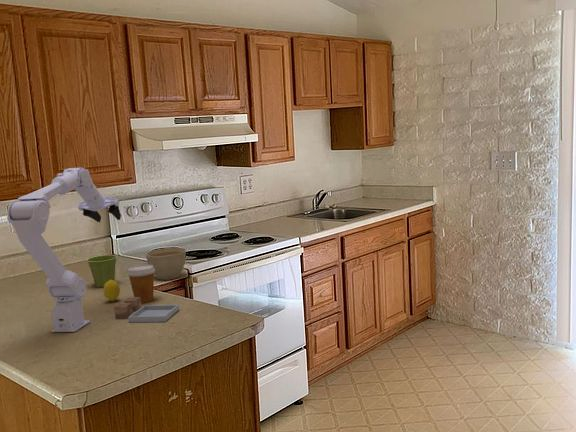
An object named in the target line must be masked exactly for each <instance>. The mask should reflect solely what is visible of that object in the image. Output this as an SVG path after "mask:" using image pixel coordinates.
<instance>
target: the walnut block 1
mask: <svg viewBox="0 0 576 432" xmlns="http://www.w3.org/2000/svg"><path fill="white" fill-rule="evenodd" d="M113 308H114V316H115V320H116V319H117V320H124V319H126V320H129V318H128V317H129V316H130V315H132V314H133V313H134V312H132V304H131V303H124V302H121V303H118V304H117V305H115V306H114V307H113Z"/></svg>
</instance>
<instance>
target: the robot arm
mask: <svg viewBox="0 0 576 432" xmlns="http://www.w3.org/2000/svg"><path fill="white" fill-rule="evenodd" d="M73 190H74V191H75V192H76V193H77V194H78V195H79V196H80V197H81V198H82V200H83V201H82V202H78V204H77V207H76V208H77V209H78V210H79V211H82V216H84V217H88V218H91V219H93V220H94V221H95V222H97V223H101V220H102V216H101V214H100V213H99V211H101V210H103V209H105V208H108V210H107V212H108V214H111V215H112V216H113V217H114V218H115V219H116V220H117V221H120V220H121V218H122V214H121V212H120V208H119V205H120V199H119V198H117V197H116V198H114V197H109V196H104V194H103V193H101V191H99V188H97V186H96V185H95V184H94V182H93V178H92V177H91V173H90V171H89V169H88V168H87V169H86V168H84V167H69V168H65V169H64V170H63V172H60V173H57V174H56V176H55V177H54V178H53V179H52V180H51V183H50V184H49V185H46V186H44V187H42V188H40V189H37V190H35V191H32V192H30V193H27V194H25V195H22V196H20V197H19V198H17V200H14V201H12V202H10V204H9V206H8V208H7V217H6V220H7V221H8V222H9V224H10V225H11V226H12V227H13V228H14V230H15V233H16V235H17V238H18V240H19V242H20V244H21V245H22V247H24V249H25V250H26V251H27V252H28V254H29V255H30V257H31V258H32V259H33V260H34V262H36V264H37V265H38V266H39V268H40V270H41V271H42V272H43V273H44V274H45V276H46V277H47V279H46V283H45V286H46V287H47V288H48V292H49V295H50V296H51V297H52V298H53V300H54V301H55V302H56V303H55V305H54V306H52V307H53V308H52V309H51V319H52V327H53V329H51V333H66V332H67V333H70V332H71V333H72V332H77V331H78V330H80V329H81V328H82V327H84V326H86V325H87V324H89V323H90V322H91V320H89V319H88V320H85V316H84V310H83V309H84V307H83V302H82V301H83V300H82V298H83V297H84V295H85V293H86V291H87V284H86V281H85V279H84V278H83V277H80V276H79V275H78V274H77V273H76V272H74V271H71V270H70V269H67V268H66V267H65V265H64V264H63V262H62V261H61V260H60V259H59V257H58V256H57V254H56V253H55V251H53V249H52V248H51V247H50V245H49V244H48V243H47V241H46V239H45V238H44V237H43V235H42V234H44V233H45V231H46V228H47V225H48V221H49V216H50V209H51V204H50V201H49V200H51V199H53V198H55V197H56V196H57V195H60V196H64V195H66V194H68V193H69V192H71V191H73Z"/></svg>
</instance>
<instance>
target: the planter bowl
mask: <svg viewBox="0 0 576 432" xmlns="http://www.w3.org/2000/svg"><path fill="white" fill-rule="evenodd" d="M186 250H187V249H186V248H183V247H167V248H166V247H165V248H160V249H159V248H158V249H155V250H151V251H149V252H146V253H145V258H146V262H147V265H153V267H154V269H155V271H154V276H155V277H156V279H157V280H161V281H169V280H174V279H178V278H180V277H181V272H183V269H184V267H185V264H186V260H187V259H186V258H187V256H186V253H187V251H186Z"/></svg>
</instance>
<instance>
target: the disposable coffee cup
mask: <svg viewBox="0 0 576 432" xmlns="http://www.w3.org/2000/svg"><path fill="white" fill-rule="evenodd" d="M154 271H155V269H154V267H153V265H148V264H140V265H134V266H131V267H129V268H128V269H127V272H126V274H127V275H128V277H129V281H130V285H131V290H132V295H133V297H140V298H141V304H144V303H146V304H147V303H150V302H152V301H153V300H154V295H155V294H154V286H155V285H154V284H155V283H154V282H155V274H154Z"/></svg>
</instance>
